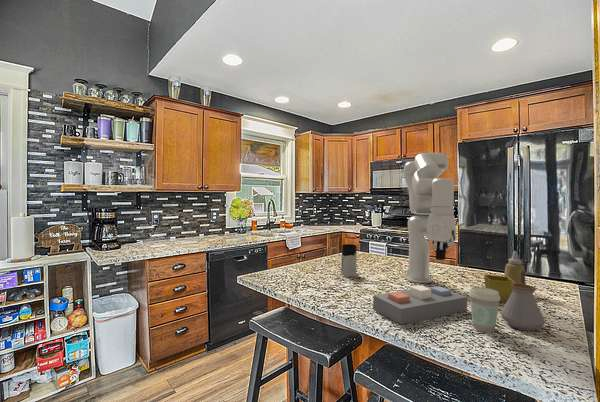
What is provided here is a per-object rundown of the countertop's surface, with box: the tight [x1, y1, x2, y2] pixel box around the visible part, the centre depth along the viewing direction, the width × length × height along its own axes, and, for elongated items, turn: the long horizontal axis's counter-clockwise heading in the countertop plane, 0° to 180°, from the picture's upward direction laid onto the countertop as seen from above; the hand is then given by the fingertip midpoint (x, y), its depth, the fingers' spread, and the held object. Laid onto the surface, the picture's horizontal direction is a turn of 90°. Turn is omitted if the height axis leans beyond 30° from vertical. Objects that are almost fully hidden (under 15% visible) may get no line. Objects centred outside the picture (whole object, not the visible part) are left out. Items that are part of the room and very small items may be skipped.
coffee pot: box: [500, 270, 546, 332], centre depth 100 cm, size 21×12×15 cm, turn 143°
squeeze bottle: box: [503, 250, 527, 285], centre depth 131 cm, size 8×8×18 cm
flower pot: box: [483, 274, 515, 303], centre depth 120 cm, size 9×9×9 cm
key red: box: [388, 291, 410, 303], centre depth 104 cm, size 5×5×5 cm
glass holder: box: [329, 243, 358, 277], centre depth 157 cm, size 9×14×15 cm, turn 89°
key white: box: [409, 284, 431, 300], centre depth 108 cm, size 5×5×5 cm
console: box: [372, 285, 468, 325], centre depth 108 cm, size 14×31×5 cm, turn 114°
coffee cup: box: [468, 286, 501, 333], centre depth 94 cm, size 8×8×12 cm
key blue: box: [430, 285, 452, 296], centre depth 112 cm, size 5×5×5 cm
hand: (440, 259), depth 113 cm, fingers closed
